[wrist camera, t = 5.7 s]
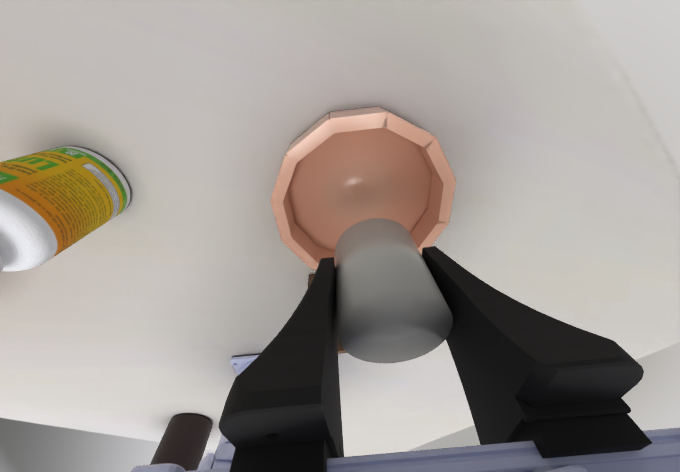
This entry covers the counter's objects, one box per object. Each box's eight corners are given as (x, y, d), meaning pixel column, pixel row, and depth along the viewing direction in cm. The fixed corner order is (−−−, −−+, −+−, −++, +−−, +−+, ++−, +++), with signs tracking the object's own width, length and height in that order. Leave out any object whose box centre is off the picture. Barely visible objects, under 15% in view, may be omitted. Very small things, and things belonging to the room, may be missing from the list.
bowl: (428, 248, 23) (440, 269, 21) (297, 262, 23) (294, 284, 21) (447, 98, 16) (469, 102, 14) (261, 120, 16) (249, 128, 14)
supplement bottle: (97, 136, 17) (-122, 194, 8) (148, 205, 20) (21, 297, 11) (29, 154, 17) (-241, 225, 9) (88, 219, 20) (-74, 317, 12)
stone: (411, 277, 15) (444, 357, 10) (339, 284, 15) (343, 367, 11) (416, 213, 12) (462, 285, 8) (329, 223, 12) (331, 299, 8)
